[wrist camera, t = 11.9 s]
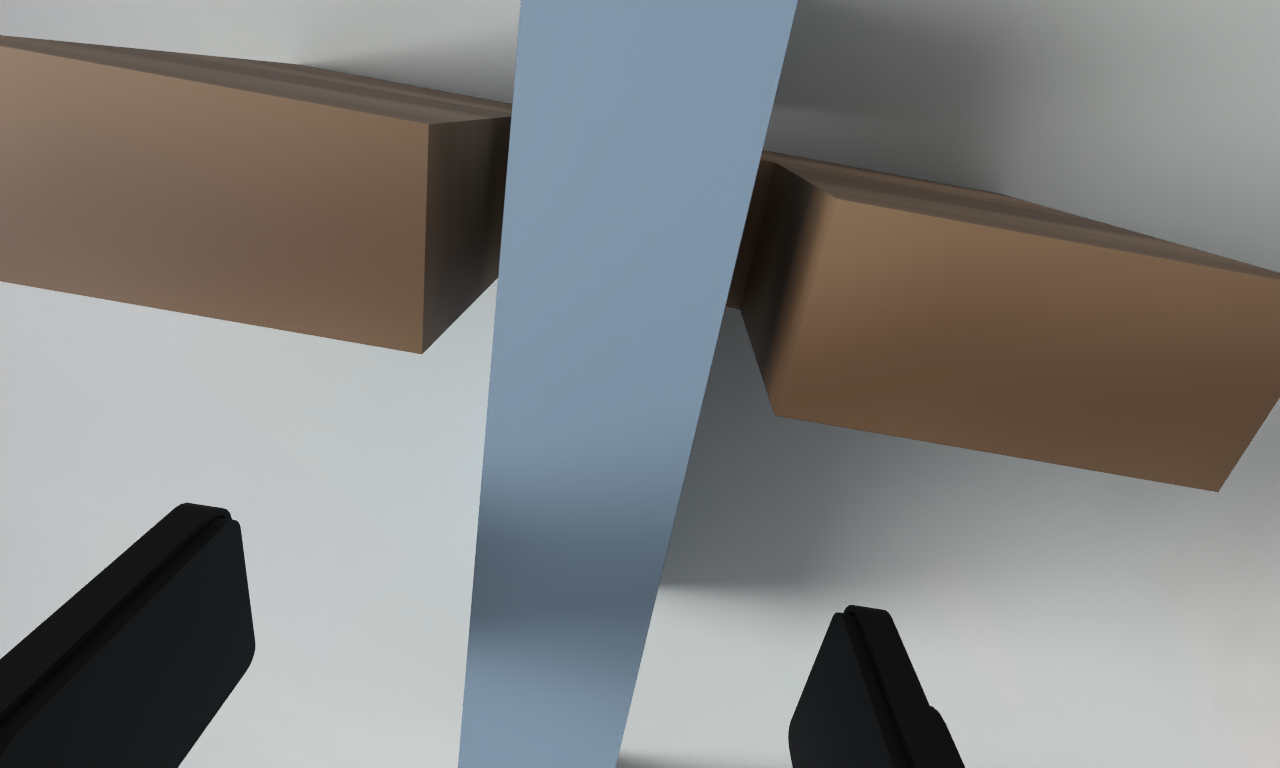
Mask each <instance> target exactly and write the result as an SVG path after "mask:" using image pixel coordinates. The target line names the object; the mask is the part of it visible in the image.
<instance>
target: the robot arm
mask: <svg viewBox="0 0 1280 768" xmlns="http://www.w3.org/2000/svg"><path fill="white" fill-rule="evenodd" d="M254 652H255V637H254V629H253V622H252V614H251V606H250V598H249V590H248V582H247V575H246V567H245V559H244V551H243V543H242V535H241V528H240V524H239V523H238V521H236V520H232V518H231V515H230V513H229V511H228V510H227V509H223V508H218V507H211V506H205V505H198V504H192V503H184V504H180V505H179V506H177V507H176V508H174V509H173V510H172V511H171V512H170V513H169V514H168V515H166V516H165V517H164V518H163V519H162V520H161V521H159V522H158V523H157V524H156V525H155V526H154V527H153V528H151V529H150V530H149V531H148V532H147V533H146V534H144V535H143V536H142V537H141V538H140V539H139V540H138V541H136V542H135V543H134V544H133V545H132V546H131V547H129V548H128V549H127V550H126V551H125V552H124V553H123V554H121V555H120V556H119V557H118V558H117V559H116V560H114V561H113V562H112V563H111V564H110V565H109V566H108V567H106V568H105V569H104V570H103V571H102V572H101V573H99V574H98V575H97V576H96V577H95V578H94V579H93V580H91V581H90V582H89V583H88V584H87V585H86V586H84V587H83V588H82V589H81V590H80V591H79V592H77V593H76V594H75V595H74V596H73V597H72V598H71V599H69V600H68V601H67V602H66V603H65V604H64V605H62V606H61V607H60V608H59V609H58V610H57V611H56V612H54V613H53V614H52V615H51V616H50V617H49V618H47V619H46V620H45V621H44V622H43V623H42V624H41V625H39V626H38V627H37V628H36V629H35V630H34V631H32V632H31V633H30V634H29V635H28V636H27V637H26V638H24V639H23V640H22V641H21V642H20V643H19V644H17V645H16V646H15V647H14V648H13V649H12V650H11V651H9V652H8V653H7V654H6V655H5V656H4V657H2V658H1V659H0V768H178V767H179V765H180V764H181V762H182V761H183V759H184V758H185V757H186V755H187V754H188V752H189V751H190V750H191V748H192V747H193V745H194V744H195V743H196V741H197V740H198V738H199V737H200V736H201V734H202V733H203V731H204V730H205V729H206V727H207V726H208V724H209V723H210V722H211V720H212V719H213V717H214V716H215V714H216V713H217V712H218V710H219V709H220V707H221V706H222V705H223V703H224V702H225V700H226V699H227V698H228V696H229V695H230V693H231V692H232V691H233V689H234V688H235V686H236V685H237V684H238V682H239V681H240V679H241V678H242V677H243V675H244V674H245V672H246V671H247V669H248V668H249V666H250V664H251V661H252V659H253V656H254ZM788 739H789V750H790V755H791V760H792V766H793V768H965V766H964V764H963V762H962V759H961V757H960V755H959V753H958V750H957V748H956V746H955V744H954V741H953V739H952V737H951V735H950V732H949V730H948V728H947V726H946V723H945V722H944V720H943V718H942V717H941V715H940V713H939V712H938V711H937V710H936V709H935V708H934V707H932V706H930V705H929V703H928V701H927V698H926V696H925V694H924V691H923V689H922V687H921V684H920V682H919V680H918V677H917V675H916V673H915V671H914V668H913V666H912V664H911V661H910V659H909V657H908V654H907V652H906V650H905V647H904V645H903V643H902V640H901V638H900V636H899V633H898V631H897V629H896V626H895V624H894V622H893V619H892V617H891V616H890V614H889V613H888V612H887V611H886V610H881V609H875V608H868V607H862V606H855V605H849V606H848V607H847V608H846V609H845V611H844V613H835V614H834V616H833V618H832V620H831V622H830V625H829V627H828V630H827V632H826V635H825V637H824V640H823V642H822V645H821V647H820V650H819V652H818V655H817V657H816V660H815V662H814V665H813V667H812V670H811V672H810V675H809V677H808V680H807V682H806V685H805V687H804V690H803V692H802V695H801V697H800V700H799V702H798V705H797V707H796V710H795V712H794V715H793V717H792V720H791V722H790V726H789V736H788Z"/></svg>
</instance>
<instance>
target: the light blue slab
mask: <svg viewBox="0 0 1280 768" xmlns="http://www.w3.org/2000/svg"><path fill="white" fill-rule="evenodd" d="M797 3H798V0H521V7H520V19H519V31H518V43H517V56H516V68H515V80H514V92H513V104H512V116H511V129H510V141H509V153H508V165H507V177H506V190H505V202H504V214H503V226H502V238H501V250H500V263H499V275H498V287H497V299H496V311H495V323H494V336H493V348H492V360H491V372H490V384H489V397H488V409H487V421H486V433H485V445H484V457H483V470H482V482H481V494H480V506H479V518H478V530H477V543H476V555H475V567H474V579H473V591H472V604H471V616H470V628H469V640H468V652H467V664H466V677H465V689H464V701H463V713H462V725H461V738H460V750H459V762H458V768H615V767H616V763H617V759H618V755H619V751H620V746H621V742H622V738H623V734H624V730H625V725H626V721H627V717H628V713H629V709H630V704H631V700H632V696H633V692H634V688H635V683H636V679H637V675H638V671H639V667H640V662H641V658H642V654H643V650H644V646H645V641H646V637H647V633H648V629H649V624H650V620H651V616H652V612H653V608H654V603H655V599H656V595H657V591H658V587H659V582H660V578H661V574H662V570H663V566H664V561H665V557H666V553H667V549H668V545H669V540H670V536H671V532H672V528H673V524H674V519H675V515H676V511H677V507H678V503H679V498H680V494H681V490H682V486H683V482H684V477H685V473H686V469H687V465H688V461H689V456H690V452H691V448H692V444H693V440H694V435H695V431H696V427H697V423H698V419H699V414H700V410H701V406H702V402H703V398H704V393H705V389H706V385H707V381H708V377H709V372H710V368H711V364H712V360H713V356H714V351H715V347H716V343H717V339H718V335H719V330H720V326H721V322H722V318H723V314H724V309H725V305H726V301H727V297H728V293H729V288H730V284H731V280H732V276H733V271H734V267H735V263H736V259H737V255H738V250H739V246H740V242H741V238H742V234H743V229H744V225H745V221H746V217H747V213H748V208H749V204H750V200H751V196H752V192H753V187H754V183H755V179H756V175H757V171H758V166H759V162H760V158H761V154H762V150H763V145H764V141H765V137H766V133H767V129H768V124H769V120H770V116H771V112H772V108H773V103H774V99H775V95H776V91H777V87H778V82H779V78H780V74H781V70H782V66H783V61H784V57H785V53H786V49H787V45H788V40H789V36H790V32H791V28H792V24H793V19H794V15H795V11H796V7H797Z"/></svg>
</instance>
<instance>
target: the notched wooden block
mask: <svg viewBox="0 0 1280 768" xmlns="http://www.w3.org/2000/svg"><path fill="white" fill-rule="evenodd" d="M511 116H512V104H508V103H502V102H497V101H492V100H486V99H481V98H475V97H470V96H464V95H459V94H454V93H448V92H443V91H437V90H432V89H426V88H421V87H416V86H410V85H405V84H399V83H394V82H388V81H383V80H378V79H372V78H367V77H361V76H356V75H350V74H345V73H340V72H334V71H329V70H323V69H318V68H312V67H307V66H302V65H296V64H288V63H277V62H267V61H257V60H247V59H237V58H226V57H216V56H206V55H196V54H185V53H175V52H165V51H155V50H145V49H134V48H124V47H114V46H104V45H94V44H83V43H73V42H63V41H53V40H42V39H32V38H22V37H12V36H2V35H0V281H2V282H8V283H14V284H20V285H26V286H31V287H37V288H43V289H49V290H54V291H60V292H66V293H72V294H78V295H83V296H89V297H95V298H101V299H106V300H112V301H118V302H124V303H129V304H135V305H141V306H147V307H153V308H158V309H164V310H170V311H176V312H181V313H187V314H193V315H199V316H204V317H210V318H216V319H222V320H228V321H233V322H239V323H245V324H251V325H256V326H262V327H268V328H274V329H280V330H285V331H291V332H297V333H303V334H308V335H314V336H320V337H326V338H331V339H337V340H343V341H349V342H355V343H360V344H366V345H372V346H378V347H383V348H389V349H395V350H401V351H406V352H412V353H418V354H423V353H424V352H425V351H426V350H427V349H428V348H429V347H430V346H431V345H432V344H433V343H434V342H435V341H436V340H437V339H438V338H439V337H440V336H441V335H442V334H443V333H444V332H445V331H446V329H447V328H448V327H449V326H450V325H451V324H452V323H453V322H454V321H455V320H456V319H457V318H458V317H459V316H460V315H461V314H462V313H463V312H464V311H465V310H466V309H467V308H468V307H469V306H470V305H471V304H472V303H473V302H474V301H475V300H476V299H477V298H478V297H479V296H480V295H481V294H482V293H483V292H484V291H485V290H486V289H487V288H488V287H489V286H490V285H491V284H492V283H493V282H494V281H495V280H496V279H497V278H498V275H499V263H500V250H501V238H502V226H503V214H504V202H505V190H506V177H507V165H508V153H509V141H510V129H511ZM725 307H731V308H736V309H740V310H741V314H742V317H743V320H744V323H745V326H746V329H747V332H748V335H749V338H750V341H751V344H752V347H753V350H754V353H755V356H756V360H757V363H758V366H759V369H760V372H761V375H762V378H763V381H764V384H765V387H766V390H767V393H768V396H769V399H770V402H771V406H772V409H773V412H774V415H776V416H782V417H787V418H793V419H799V420H805V421H811V422H816V423H822V424H828V425H834V426H839V427H845V428H851V429H857V430H862V431H868V432H874V433H880V434H886V435H891V436H897V437H903V438H909V439H914V440H920V441H926V442H932V443H938V444H943V445H949V446H955V447H961V448H966V449H972V450H978V451H984V452H989V453H995V454H1001V455H1007V456H1013V457H1018V458H1024V459H1030V460H1036V461H1041V462H1047V463H1053V464H1059V465H1064V466H1070V467H1076V468H1082V469H1088V470H1093V471H1099V472H1105V473H1111V474H1116V475H1122V476H1128V477H1134V478H1140V479H1145V480H1151V481H1157V482H1163V483H1168V484H1174V485H1180V486H1186V487H1191V488H1197V489H1203V490H1209V491H1215V492H1218V491H1219V490H1220V488H1221V487H1222V485H1223V484H1224V482H1225V480H1226V479H1227V477H1228V476H1229V474H1230V473H1231V471H1232V470H1233V468H1234V467H1235V465H1236V464H1237V462H1238V461H1239V459H1240V457H1241V456H1242V454H1243V453H1244V451H1245V450H1246V448H1247V447H1248V445H1249V444H1250V442H1251V441H1252V439H1253V437H1254V436H1255V434H1256V433H1257V431H1258V430H1259V428H1260V427H1261V425H1262V424H1263V422H1264V421H1265V419H1266V417H1267V416H1268V414H1269V413H1270V411H1271V410H1272V408H1273V407H1274V405H1275V404H1276V402H1277V401H1278V399H1279V397H1280V273H1278V272H1274V271H1271V270H1267V269H1264V268H1260V267H1257V266H1253V265H1250V264H1246V263H1243V262H1239V261H1236V260H1232V259H1228V258H1225V257H1221V256H1218V255H1214V254H1211V253H1207V252H1204V251H1200V250H1197V249H1193V248H1190V247H1186V246H1183V245H1179V244H1175V243H1172V242H1168V241H1165V240H1161V239H1158V238H1154V237H1151V236H1147V235H1144V234H1140V233H1137V232H1133V231H1129V230H1126V229H1122V228H1119V227H1115V226H1112V225H1108V224H1105V223H1101V222H1098V221H1094V220H1091V219H1087V218H1084V217H1080V216H1076V215H1073V214H1069V213H1066V212H1062V211H1059V210H1055V209H1052V208H1048V207H1045V206H1041V205H1038V204H1034V203H1031V202H1027V201H1023V200H1020V199H1016V198H1013V197H1009V196H1006V195H1002V194H996V193H991V192H985V191H980V190H974V189H969V188H964V187H958V186H953V185H947V184H942V183H937V182H931V181H926V180H920V179H915V178H909V177H904V176H899V175H893V174H888V173H882V172H877V171H871V170H866V169H861V168H855V167H850V166H844V165H839V164H833V163H828V162H823V161H817V160H812V159H806V158H801V157H795V156H790V155H785V154H779V153H774V152H768V151H763V150H762V154H761V158H760V162H759V166H758V171H757V175H756V179H755V183H754V187H753V192H752V196H751V200H750V204H749V208H748V213H747V217H746V221H745V225H744V229H743V234H742V238H741V242H740V246H739V250H738V255H737V259H736V263H735V267H734V271H733V276H732V280H731V284H730V288H729V293H728V297H727V301H726V305H725Z"/></svg>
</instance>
